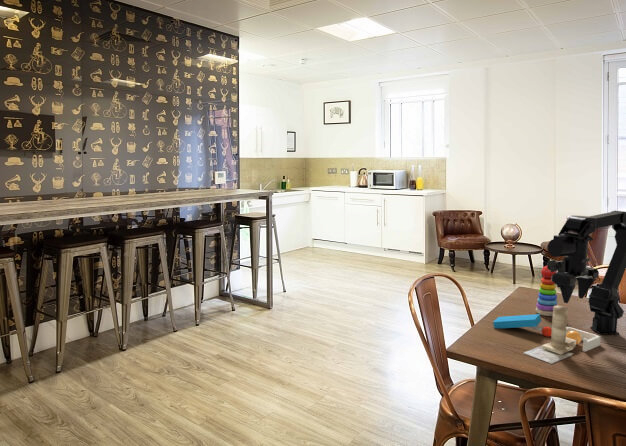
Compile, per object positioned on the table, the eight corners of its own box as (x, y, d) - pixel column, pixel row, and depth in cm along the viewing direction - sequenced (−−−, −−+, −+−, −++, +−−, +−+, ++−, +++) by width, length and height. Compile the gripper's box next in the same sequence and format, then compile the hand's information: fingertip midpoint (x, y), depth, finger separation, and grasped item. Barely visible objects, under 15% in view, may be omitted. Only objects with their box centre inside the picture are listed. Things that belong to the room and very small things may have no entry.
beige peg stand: (558, 341, 157) (561, 301, 155) (577, 347, 152) (580, 306, 150) (542, 347, 152) (545, 307, 150) (560, 354, 147) (563, 312, 145)
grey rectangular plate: (545, 345, 156) (545, 344, 156) (573, 354, 148) (573, 353, 148) (523, 353, 149) (523, 352, 149) (551, 364, 142) (551, 363, 142)
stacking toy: (559, 312, 188) (562, 265, 185) (556, 318, 181) (560, 269, 178) (537, 308, 192) (540, 262, 189) (533, 314, 185) (537, 266, 182)
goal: (567, 335, 164) (568, 323, 164) (600, 345, 156) (601, 333, 155) (552, 340, 159) (553, 329, 159) (585, 351, 150) (586, 339, 150)
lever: (497, 341, 171) (551, 339, 160) (492, 322, 171) (546, 318, 160) (503, 335, 177) (555, 333, 165) (498, 316, 177) (551, 313, 166)
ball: (565, 337, 154) (567, 348, 156) (580, 336, 152) (583, 347, 154) (564, 328, 158) (566, 338, 160) (579, 327, 156) (581, 337, 158)
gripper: (568, 247, 169) (564, 290, 171) (537, 253, 159) (534, 299, 161) (601, 252, 160) (597, 298, 162) (571, 259, 150) (567, 308, 152)
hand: (573, 300), depth 160 cm, fingers open, 9 cm apart
